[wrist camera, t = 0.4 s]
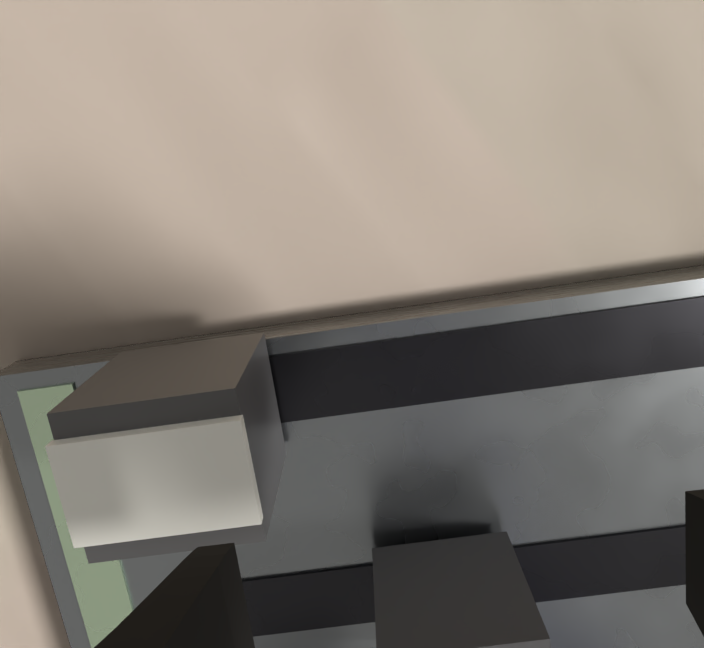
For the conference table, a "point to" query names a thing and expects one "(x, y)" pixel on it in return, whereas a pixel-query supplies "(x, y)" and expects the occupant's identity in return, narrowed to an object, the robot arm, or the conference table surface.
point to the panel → (442, 461)
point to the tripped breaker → (454, 595)
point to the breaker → (170, 450)
